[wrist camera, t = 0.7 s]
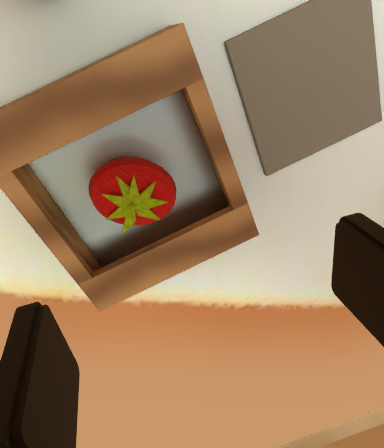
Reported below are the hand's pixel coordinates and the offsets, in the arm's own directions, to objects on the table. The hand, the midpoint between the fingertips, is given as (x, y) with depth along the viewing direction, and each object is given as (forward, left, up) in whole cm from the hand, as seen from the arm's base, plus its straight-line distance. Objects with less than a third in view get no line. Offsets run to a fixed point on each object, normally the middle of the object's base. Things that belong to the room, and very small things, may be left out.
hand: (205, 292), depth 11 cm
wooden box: (-4, +3, -25) cm, 25 cm away
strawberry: (-4, +3, -25) cm, 26 cm away
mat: (-4, -17, -25) cm, 30 cm away
